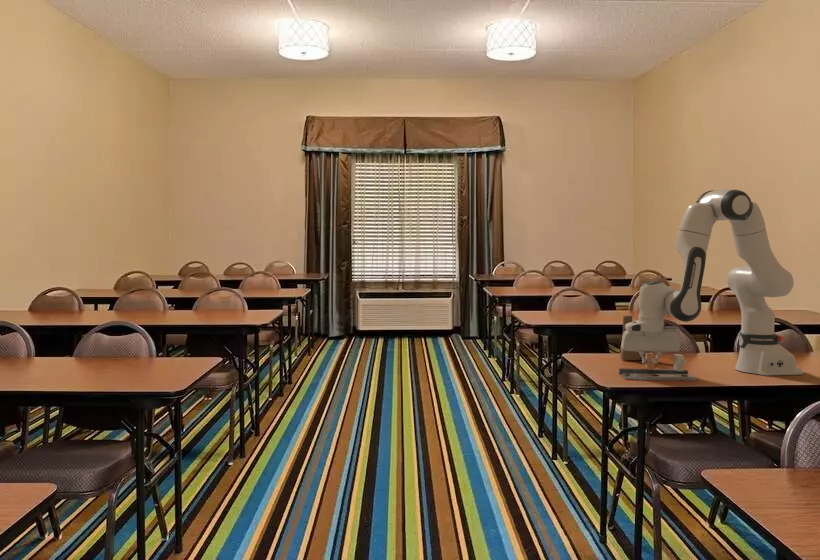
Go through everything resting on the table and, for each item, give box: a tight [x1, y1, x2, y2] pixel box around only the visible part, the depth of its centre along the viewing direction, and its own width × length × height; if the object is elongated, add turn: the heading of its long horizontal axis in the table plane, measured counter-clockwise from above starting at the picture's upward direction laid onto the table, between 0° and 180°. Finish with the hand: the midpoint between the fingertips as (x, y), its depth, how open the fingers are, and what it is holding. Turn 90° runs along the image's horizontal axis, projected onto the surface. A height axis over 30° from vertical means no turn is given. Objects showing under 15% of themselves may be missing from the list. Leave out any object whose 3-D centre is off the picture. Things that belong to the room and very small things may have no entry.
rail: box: [618, 353, 689, 375], centre depth 253 cm, size 24×10×7 cm, turn 85°
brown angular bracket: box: [620, 315, 651, 361], centre depth 283 cm, size 4×11×18 cm, turn 84°
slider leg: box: [644, 352, 657, 370], centre depth 253 cm, size 2×10×5 cm, turn 175°
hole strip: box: [621, 373, 697, 382], centre depth 249 cm, size 24×5×1 cm, turn 85°
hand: (650, 363), depth 256 cm, fingers closed on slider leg, 2 cm apart
